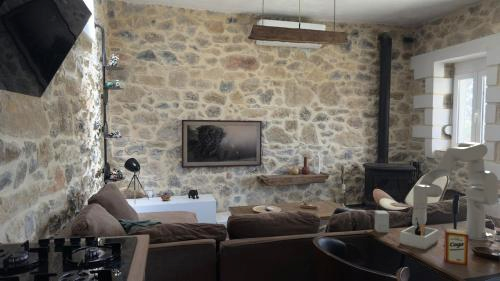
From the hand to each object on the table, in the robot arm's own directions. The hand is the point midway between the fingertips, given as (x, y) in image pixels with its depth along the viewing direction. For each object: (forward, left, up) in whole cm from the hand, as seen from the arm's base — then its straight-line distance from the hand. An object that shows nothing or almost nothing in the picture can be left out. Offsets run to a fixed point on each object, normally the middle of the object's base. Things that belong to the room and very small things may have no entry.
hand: (419, 235), depth 204 cm
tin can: (0, 0, -2) cm, 2 cm away
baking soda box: (-24, +16, -5) cm, 29 cm away
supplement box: (+26, -5, -5) cm, 27 cm away
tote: (0, 0, -4) cm, 4 cm away
